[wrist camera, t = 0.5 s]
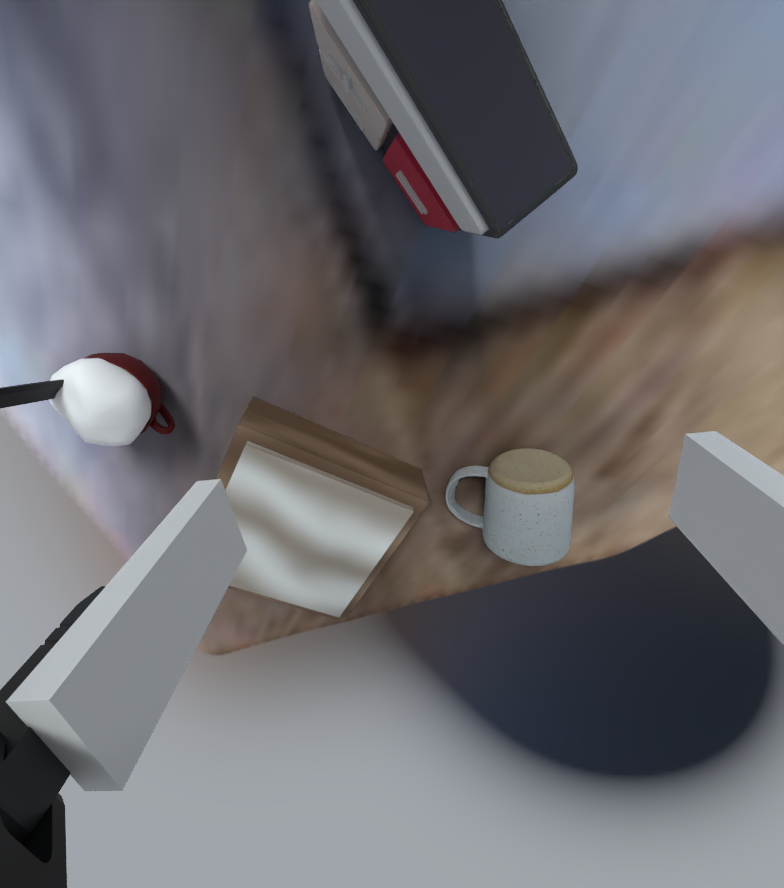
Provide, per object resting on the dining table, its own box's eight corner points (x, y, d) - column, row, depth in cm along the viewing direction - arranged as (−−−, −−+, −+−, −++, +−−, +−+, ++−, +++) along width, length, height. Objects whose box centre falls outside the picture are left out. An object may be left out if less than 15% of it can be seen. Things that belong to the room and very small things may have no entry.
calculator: (315, 70, 24) (270, -86, 11) (371, 9, 23) (393, -242, 10) (426, 234, 29) (483, 255, 16) (477, 188, 28) (583, 172, 15)
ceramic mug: (556, 437, 38) (596, 486, 32) (549, 508, 42) (584, 564, 36) (441, 452, 38) (457, 503, 32) (445, 521, 42) (460, 579, 36)
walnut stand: (253, 396, 34) (236, 428, 29) (420, 469, 39) (430, 507, 34) (195, 533, 40) (173, 577, 35) (345, 581, 45) (344, 626, 40)
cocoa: (197, 407, 35) (143, 497, 24) (134, 439, 35) (56, 539, 25) (110, 301, 30) (-4, 357, 19) (39, 340, 30) (-107, 415, 20)
